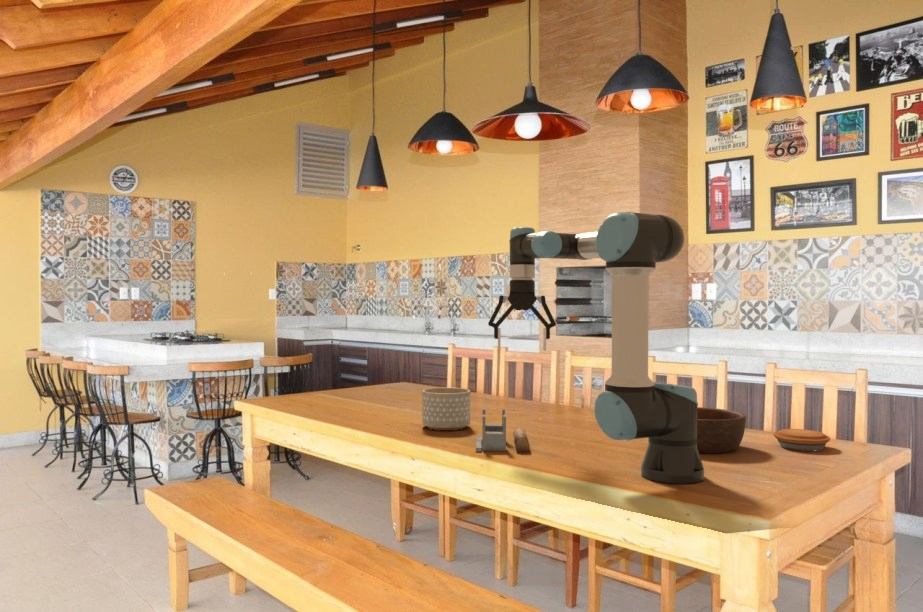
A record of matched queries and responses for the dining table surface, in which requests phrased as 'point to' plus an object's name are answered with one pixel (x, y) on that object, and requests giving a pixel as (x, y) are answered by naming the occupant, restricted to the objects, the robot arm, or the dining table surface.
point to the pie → (801, 439)
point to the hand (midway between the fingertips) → (521, 350)
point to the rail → (521, 440)
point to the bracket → (492, 435)
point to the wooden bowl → (719, 430)
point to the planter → (446, 408)
